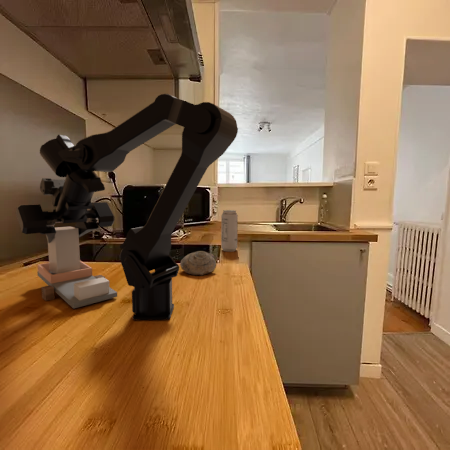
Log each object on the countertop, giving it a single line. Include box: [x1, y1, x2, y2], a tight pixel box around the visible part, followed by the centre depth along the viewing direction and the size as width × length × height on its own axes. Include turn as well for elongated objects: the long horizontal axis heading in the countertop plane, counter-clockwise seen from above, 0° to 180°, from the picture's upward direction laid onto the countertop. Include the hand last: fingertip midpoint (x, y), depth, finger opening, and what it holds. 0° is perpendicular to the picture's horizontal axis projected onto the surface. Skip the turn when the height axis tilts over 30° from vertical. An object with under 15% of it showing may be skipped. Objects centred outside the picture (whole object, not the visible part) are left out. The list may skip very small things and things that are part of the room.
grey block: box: [47, 226, 81, 274], centre depth 70 cm, size 5×5×10 cm
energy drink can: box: [220, 209, 239, 253], centre depth 114 cm, size 6×6×15 cm
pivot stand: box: [41, 274, 106, 302], centre depth 67 cm, size 2×13×2 cm, turn 137°
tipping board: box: [36, 260, 118, 309], centre depth 67 cm, size 21×9×4 cm, turn 47°
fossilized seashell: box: [180, 250, 217, 276], centre depth 86 cm, size 11×11×7 cm
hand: (61, 239), depth 71 cm, fingers closed on grey block, 5 cm apart
